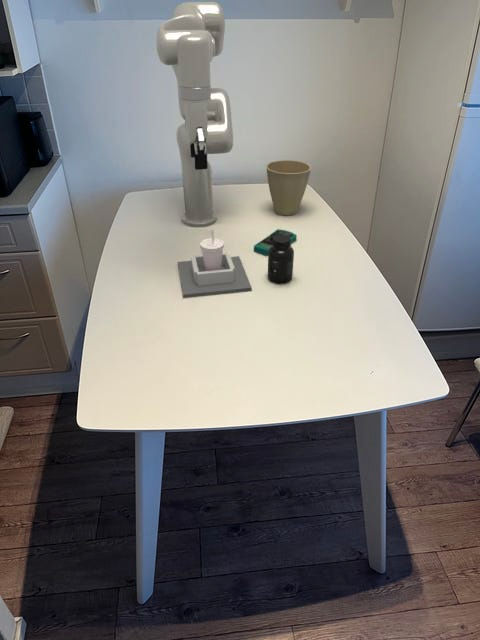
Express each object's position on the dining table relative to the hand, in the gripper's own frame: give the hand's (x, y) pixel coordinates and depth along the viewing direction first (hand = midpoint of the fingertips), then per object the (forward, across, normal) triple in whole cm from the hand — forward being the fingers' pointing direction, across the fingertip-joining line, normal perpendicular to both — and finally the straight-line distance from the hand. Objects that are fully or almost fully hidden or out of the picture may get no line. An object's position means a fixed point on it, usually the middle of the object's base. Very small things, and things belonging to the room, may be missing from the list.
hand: (199, 162), depth 129 cm
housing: (+28, +13, +1) cm, 31 cm away
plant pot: (+29, -28, +33) cm, 52 cm away
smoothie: (+27, +14, +1) cm, 30 cm away
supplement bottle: (+28, +18, +19) cm, 38 cm away
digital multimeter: (+28, -2, +23) cm, 36 cm away
